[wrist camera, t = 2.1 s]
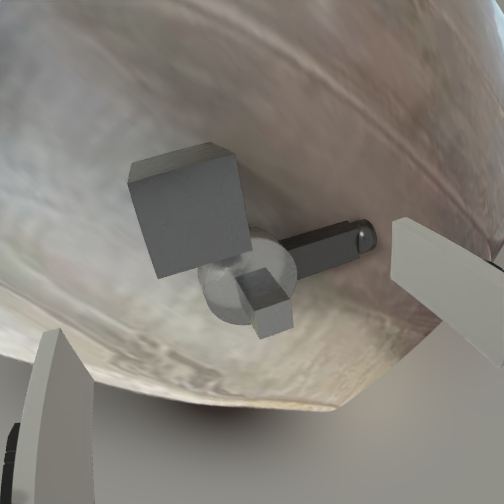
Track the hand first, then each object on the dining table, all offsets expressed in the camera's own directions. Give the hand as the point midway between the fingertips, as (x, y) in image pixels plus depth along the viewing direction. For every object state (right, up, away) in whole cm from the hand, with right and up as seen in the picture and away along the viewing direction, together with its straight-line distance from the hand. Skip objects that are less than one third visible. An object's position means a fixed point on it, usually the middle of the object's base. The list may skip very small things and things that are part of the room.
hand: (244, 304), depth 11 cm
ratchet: (+4, +2, +23) cm, 24 cm away
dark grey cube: (-6, +7, +16) cm, 19 cm away
